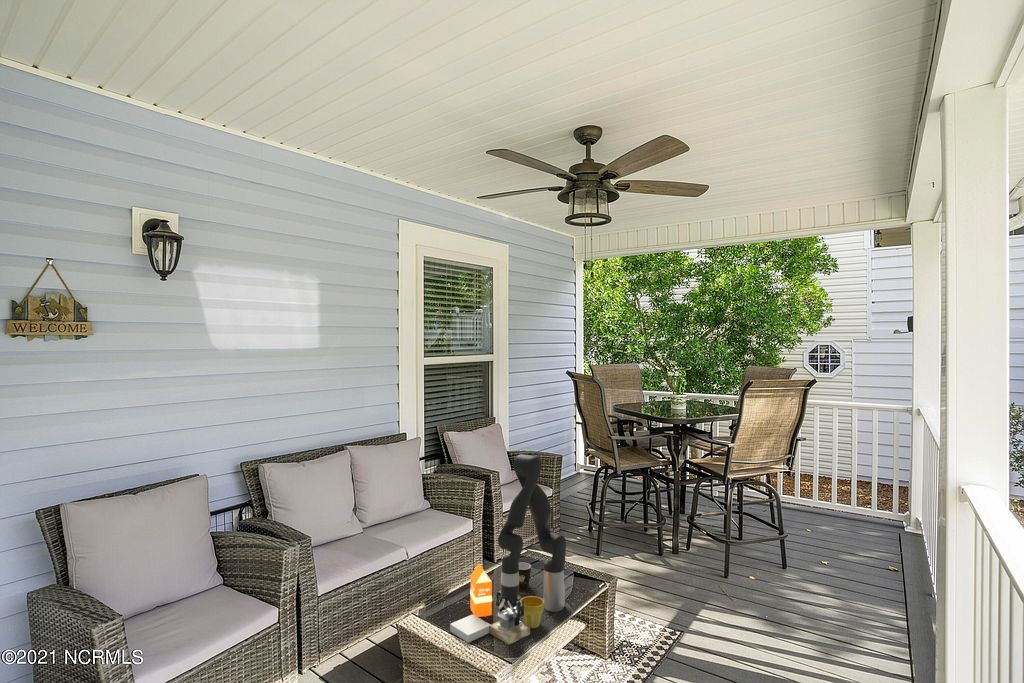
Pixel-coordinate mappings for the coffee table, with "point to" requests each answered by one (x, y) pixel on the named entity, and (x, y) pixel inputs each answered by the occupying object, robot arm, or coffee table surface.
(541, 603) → the plant pot
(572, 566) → the coffee table surface
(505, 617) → the block
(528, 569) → the coffee mug
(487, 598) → the orange juice
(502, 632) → the stand
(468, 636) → the stand
